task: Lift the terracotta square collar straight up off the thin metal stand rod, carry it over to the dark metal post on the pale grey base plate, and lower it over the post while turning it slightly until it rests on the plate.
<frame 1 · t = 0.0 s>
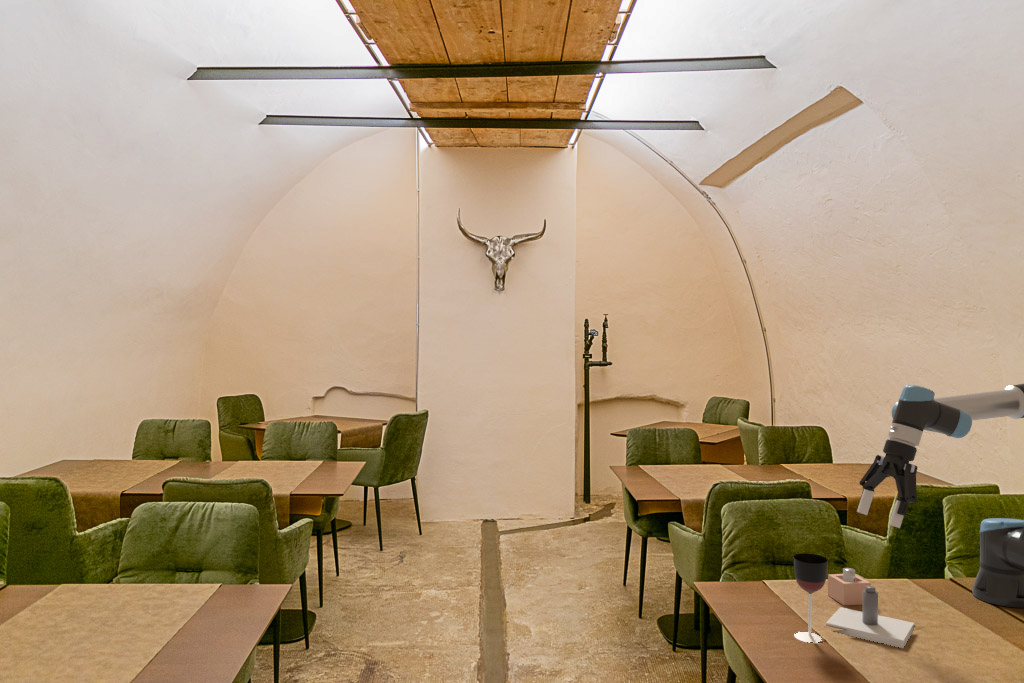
hand: (877, 519, 196), 28 cm above the table, tool tilted 20°, fingers open, 13 cm apart
wineglass: (809, 638, 189), on the table
collar: (848, 599, 211), point 1 cm above the table, touching stand
stand: (848, 604, 211), on the table
hub: (870, 630, 193), on the table
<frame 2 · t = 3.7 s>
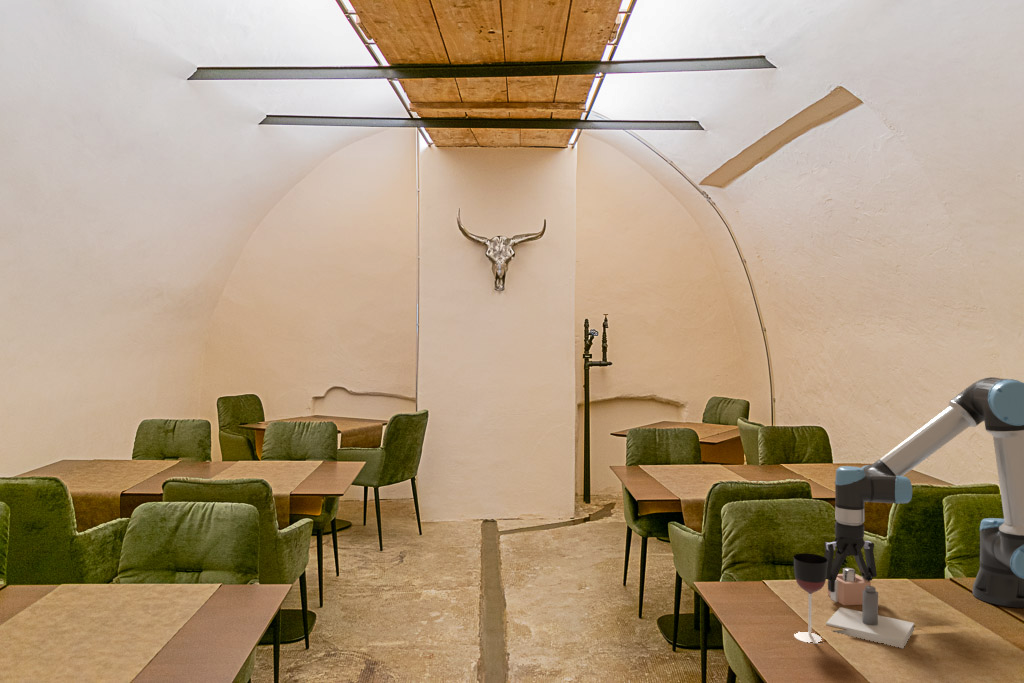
hand: (848, 602, 211), 1 cm above the table, tool pointing down, fingers closed on collar, 8 cm apart
collar: (848, 599, 211), point 2 cm above the table, touching gripper, stand
everything else where it was.
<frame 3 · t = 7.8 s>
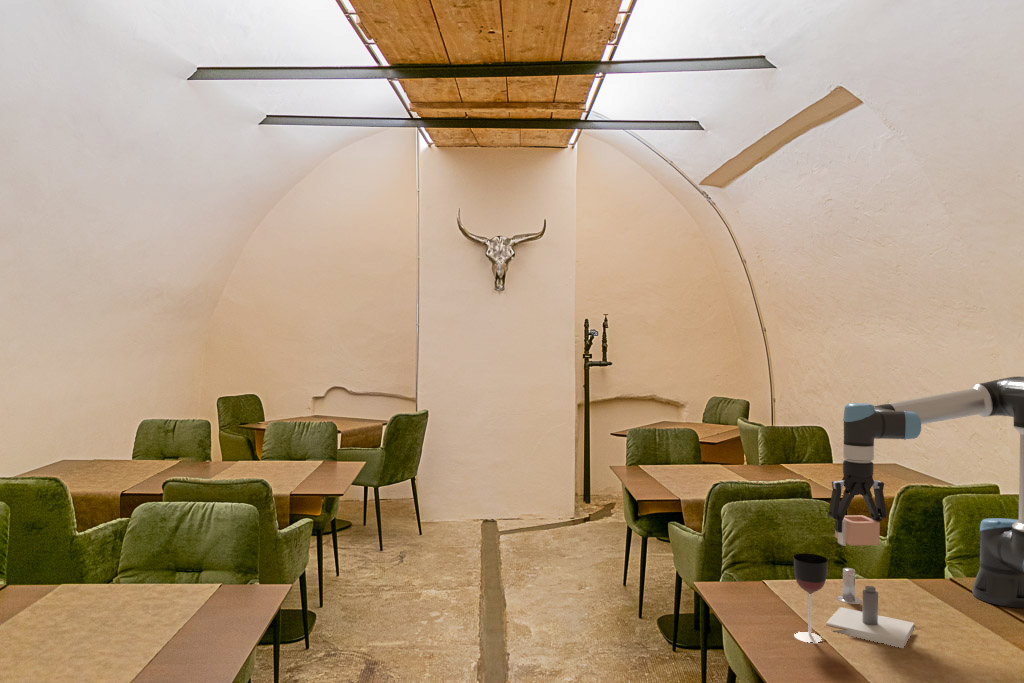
hand: (856, 543, 203), 20 cm above the table, tool pointing down, fingers closed on collar, 8 cm apart
collar: (856, 541, 203), point 20 cm above the table, touching gripper
everything else where it was.
when the fingers open (3 cm above the table, at t = 12.3 s): collar drops 1 cm, resting on hub.
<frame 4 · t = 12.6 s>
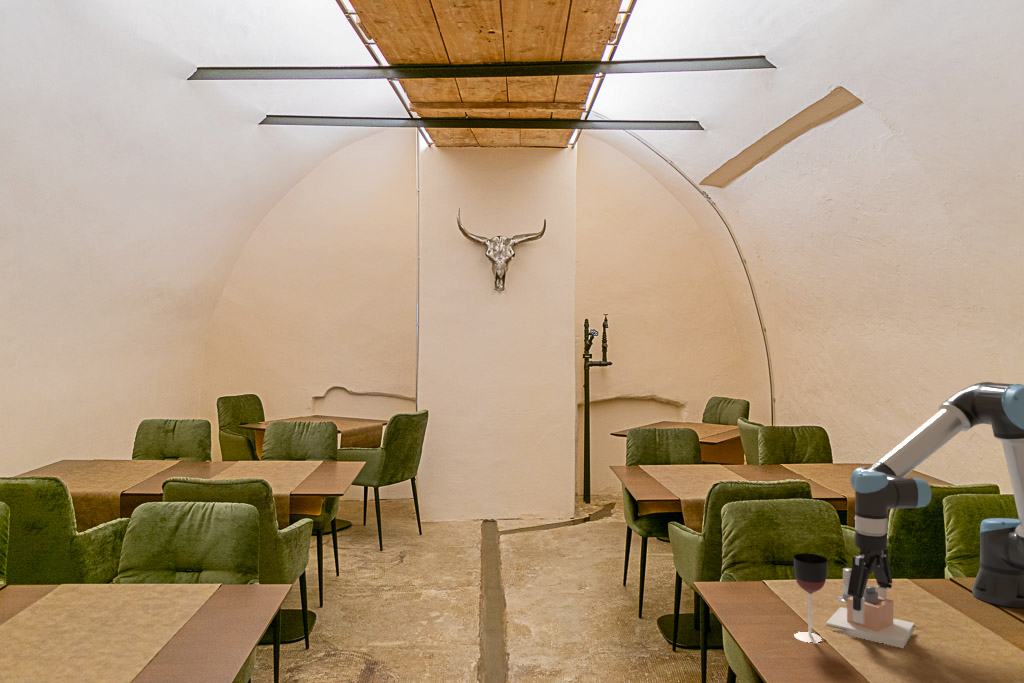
hand: (870, 617, 193), 3 cm above the table, tool pointing down, fingers open, 11 cm apart
collar: (870, 622, 193), point 2 cm above the table, touching hub
everything else where it was.
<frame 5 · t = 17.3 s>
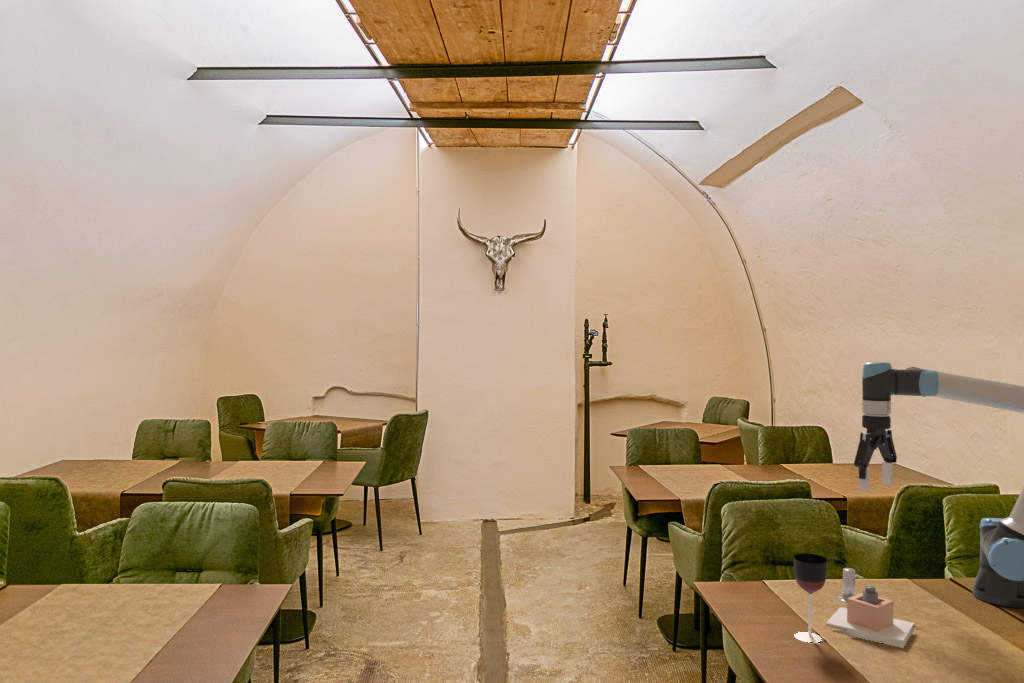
hand: (875, 487, 219), 32 cm above the table, tool pointing down, fingers open, 13 cm apart
nothing on the table moved.
at the end: collar 0.0 cm off-centre on the hub, point 2.0 cm above the hub's base; collar tilted 0°; the gripper is holding nothing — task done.
